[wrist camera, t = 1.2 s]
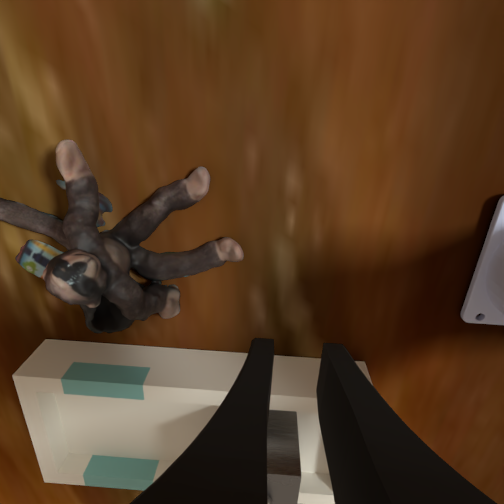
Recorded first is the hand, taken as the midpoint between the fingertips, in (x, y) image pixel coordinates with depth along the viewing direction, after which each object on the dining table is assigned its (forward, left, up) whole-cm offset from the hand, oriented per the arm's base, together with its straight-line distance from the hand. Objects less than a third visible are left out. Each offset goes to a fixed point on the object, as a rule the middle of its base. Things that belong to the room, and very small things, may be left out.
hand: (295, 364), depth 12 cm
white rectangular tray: (+5, +15, -10) cm, 18 cm away
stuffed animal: (+10, 0, -10) cm, 15 cm away
